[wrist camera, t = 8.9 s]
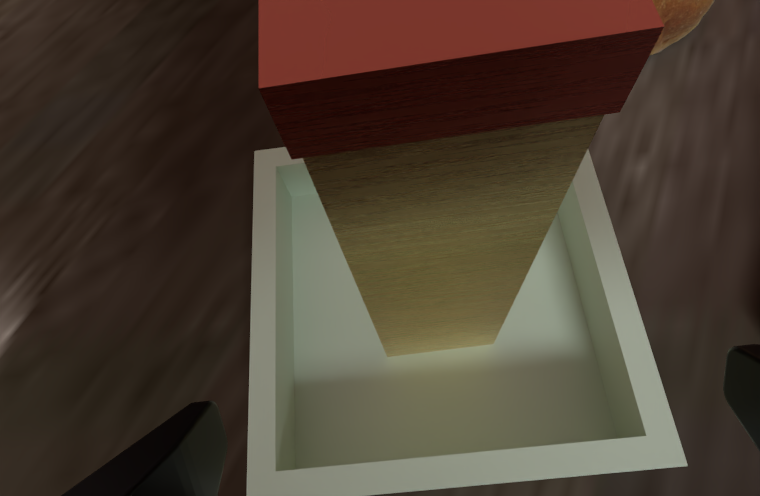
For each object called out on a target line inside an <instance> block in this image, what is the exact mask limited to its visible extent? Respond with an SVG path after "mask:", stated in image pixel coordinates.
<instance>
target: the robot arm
mask: <svg viewBox="0 0 760 496" xmlns="http://www.w3.org/2000/svg"><path fill="white" fill-rule="evenodd" d="M723 390H724V395H725V398H726V400H727V402H728V404H729V406H730V407H731V409H732V410H733V412H734V413H735V415H736V416H737V418H738V419H739V421H740V422H741V424H742V425H743V427H744V428H745V430H746V431H747V433H748V434H749V436H750V438H751V439H752V441H753V442H754V444H755V445H756V447H757V448H758V450H759V451H760V345H758V344H751V345H742V346H734V347H732V348H731V349H730V350H729V351H728V353H727V359H726V367H725V376H724V385H723ZM226 453H227V436H226V433H225V429H224V426H223V422H222V419H221V415H220V412H219V408H218V406H217V404H216V403H215V402H213V401H204V402H194V403H191V404H189V405H188V406H186V407H185V408H184V409H182V410H181V411H179V412H178V413H177V414H175V415H174V416H172V417H171V418H170V419H168V420H167V421H165V422H164V423H163V424H161V425H160V426H158V427H157V428H156V429H154V430H153V431H151V432H150V433H149V434H147V435H146V436H144V437H143V438H141V439H140V440H139V441H137V442H136V443H134V444H133V445H132V446H130V447H129V448H127V449H126V450H125V451H123V452H122V453H120V454H119V455H118V456H116V457H115V458H113V459H112V460H111V461H109V462H108V463H106V464H105V465H104V466H102V467H101V468H99V469H98V470H97V471H95V472H94V473H92V474H91V475H90V476H88V477H87V478H85V479H84V480H83V481H81V482H80V483H78V484H77V485H76V486H74V487H73V488H71V489H70V490H69V491H67V492H66V493H64V494H63V495H61V496H217V494H218V489H219V485H220V480H221V476H222V471H223V467H224V462H225V458H226Z"/></svg>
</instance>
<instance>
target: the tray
mask: <svg viewBox="0 0 760 496" xmlns="http://www.w3.org/2000/svg"><path fill="white" fill-rule="evenodd" d="M682 466H688V465H687V462H686V458H685V455H684V452H683V449H682V446H681V442H680V439H679V436H678V433H677V430H676V427H675V423H674V420H673V417H672V414H671V411H670V407H669V404H668V401H667V398H666V395H665V392H664V388H663V385H662V382H661V379H660V376H659V373H658V369H657V366H656V363H655V360H654V357H653V353H652V350H651V347H650V344H649V341H648V338H647V334H646V331H645V328H644V325H643V322H642V319H641V315H640V312H639V309H638V306H637V303H636V299H635V296H634V293H633V290H632V287H631V284H630V280H629V277H628V274H627V271H626V268H625V265H624V261H623V258H622V255H621V252H620V249H619V245H618V242H617V239H616V236H615V233H614V230H613V226H612V223H611V220H610V217H609V214H608V211H607V207H606V204H605V201H604V198H603V195H602V191H601V188H600V185H599V182H598V179H597V176H596V172H595V169H594V166H593V163H592V160H591V157H590V153H589V150H588V149H587V151H586V154H585V156H584V158H583V160H582V162H581V164H580V166H579V168H578V170H577V172H576V174H575V176H574V178H573V180H572V183H571V185H570V187H569V189H568V191H567V193H566V195H565V197H564V199H563V201H562V203H561V205H560V207H559V209H558V211H557V214H556V216H555V218H554V220H553V222H552V224H551V226H550V228H549V230H548V232H547V234H546V236H545V238H544V240H543V243H542V245H541V247H540V249H539V251H538V253H537V255H536V257H535V259H534V261H533V263H532V265H531V267H530V269H529V272H528V274H527V276H526V278H525V280H524V282H523V284H522V286H521V288H520V290H519V292H518V294H517V296H516V298H515V300H514V303H513V305H512V307H511V309H510V311H509V313H508V315H507V317H506V319H505V321H504V323H503V325H502V327H501V329H500V332H499V334H498V336H497V338H496V340H495V342H494V344H489V345H481V346H473V347H464V348H456V349H448V350H440V351H432V352H424V353H416V354H408V355H400V356H392V357H387V355H386V353H385V350H384V348H383V346H382V343H381V341H380V339H379V336H378V334H377V332H376V329H375V327H374V325H373V322H372V320H371V318H370V315H369V313H368V311H367V308H366V306H365V303H364V301H363V299H362V296H361V294H360V292H359V289H358V287H357V285H356V282H355V280H354V278H353V275H352V273H351V271H350V268H349V266H348V264H347V261H346V259H345V257H344V254H343V252H342V250H341V247H340V245H339V242H338V240H337V238H336V235H335V233H334V231H333V228H332V226H331V224H330V221H329V219H328V217H327V214H326V212H325V210H324V207H323V205H322V203H321V200H320V198H319V196H318V193H317V191H316V188H315V186H314V184H313V181H312V179H311V177H310V174H309V172H308V170H307V167H306V165H305V163H304V160H303V158H300V159H293V160H292V159H291V157H290V155H289V153H288V151H287V149H286V147H281V148H273V149H266V150H258V151H254V189H253V233H252V277H251V320H250V364H249V408H248V451H247V495H246V496H367V495H378V494H389V493H400V492H411V491H422V490H433V489H443V488H454V487H465V486H476V485H487V484H498V483H509V482H519V481H530V480H541V479H552V478H563V477H574V476H585V475H595V474H606V473H617V472H628V471H639V470H650V469H660V468H671V467H682Z"/></svg>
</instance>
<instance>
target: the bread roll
mask: <svg viewBox="0 0 760 496" xmlns="http://www.w3.org/2000/svg"><path fill="white" fill-rule="evenodd" d="M652 1H653V3H654V5H655V7H656V9H657V12H658V14H659V16H660V18H661V20H662V22H663V24H664V28H663V30H662V32H661V34H660V36H659V38H658V40H657V42H656V44H655V46H654V48H653V49H652V51H651V53H650V55H652V54H656V53H661V51H662V50H663V49H665V48H666V47H667V46H669V45H670V44H672V43H674V42H676V41H678V40H680V39H681V38H683V37H684V36H686V35H687V34H688V33H689V32H691V31H692V30H693V29H694V28H695V27H696V26H697V25H698V24H699V22H700V20H701V19H702V17H703V16H704V15H705V14H706V13H707V11H708V10H709V8H710V7H711V5H712V4H713V3H714V1H715V0H652Z"/></svg>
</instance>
